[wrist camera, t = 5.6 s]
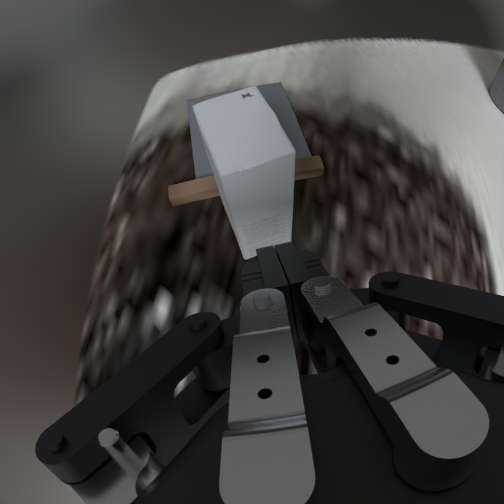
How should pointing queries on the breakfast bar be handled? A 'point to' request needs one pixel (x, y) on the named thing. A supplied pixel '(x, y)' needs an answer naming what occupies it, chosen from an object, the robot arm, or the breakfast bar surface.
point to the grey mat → (277, 103)
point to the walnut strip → (209, 188)
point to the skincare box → (250, 166)
